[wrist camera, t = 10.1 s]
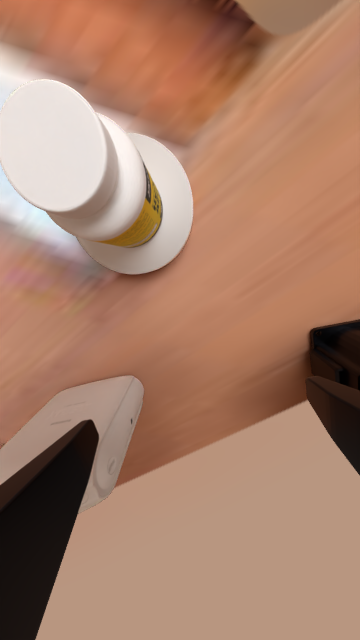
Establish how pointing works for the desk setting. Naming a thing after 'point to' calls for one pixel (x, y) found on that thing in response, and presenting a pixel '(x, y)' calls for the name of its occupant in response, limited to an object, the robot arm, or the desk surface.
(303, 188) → the desk surface
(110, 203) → the supplement bottle
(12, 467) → the photo printer
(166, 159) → the plinth
